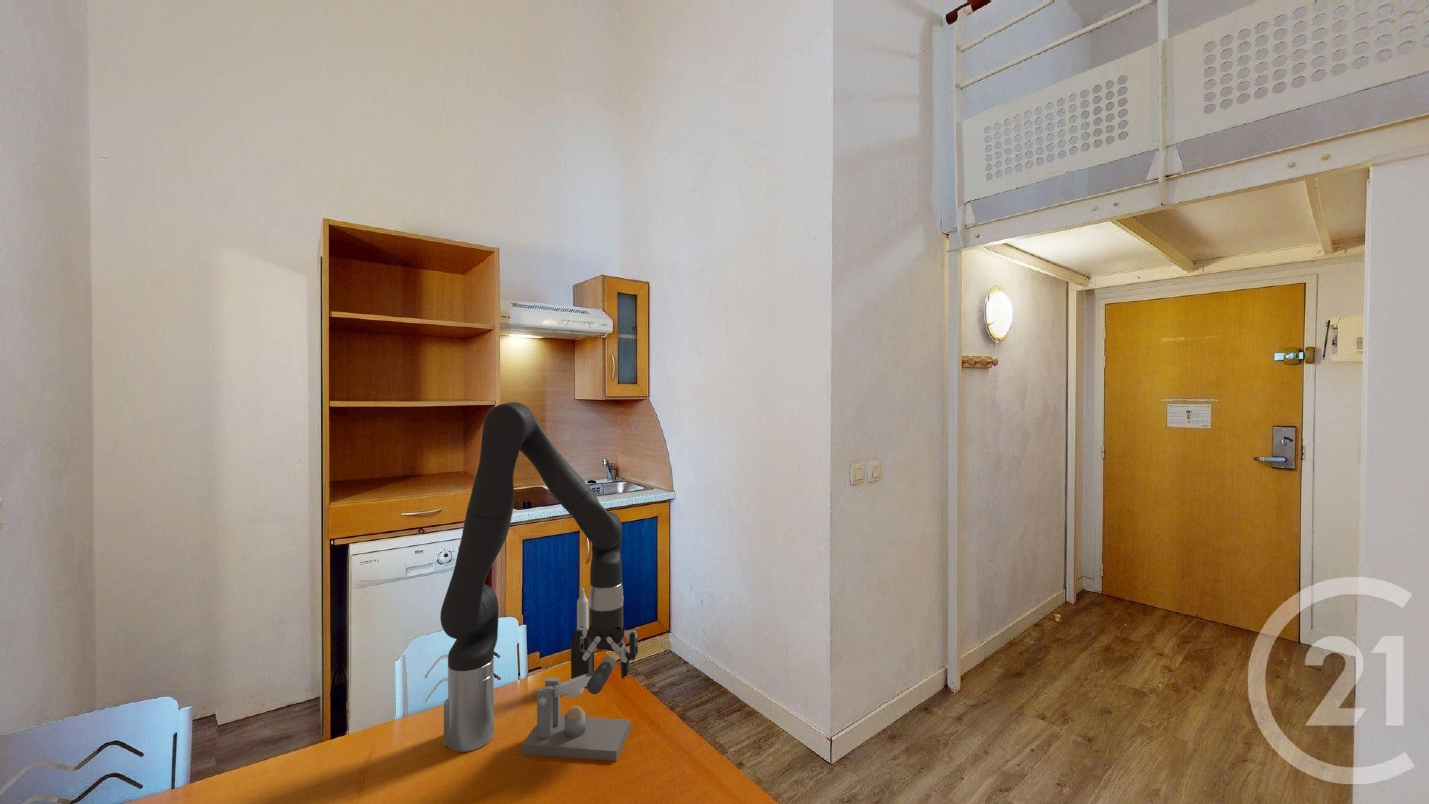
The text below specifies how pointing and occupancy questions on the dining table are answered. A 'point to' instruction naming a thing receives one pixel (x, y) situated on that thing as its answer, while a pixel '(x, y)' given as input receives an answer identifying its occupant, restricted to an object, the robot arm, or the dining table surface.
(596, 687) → the lever
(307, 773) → the dining table surface
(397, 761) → the dining table surface
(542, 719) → the base
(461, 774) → the dining table surface
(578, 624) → the black and grey rod
